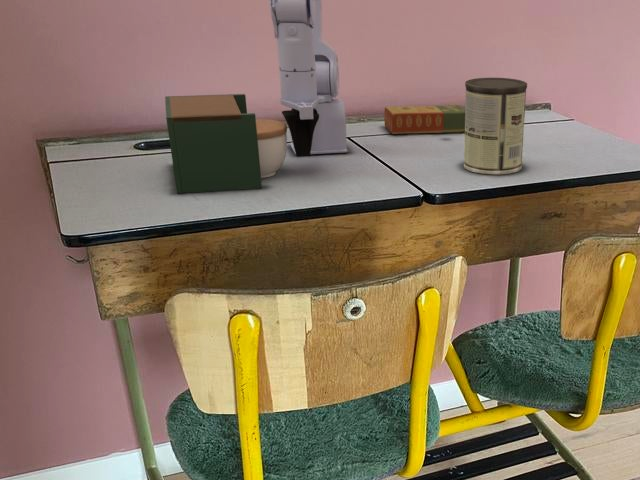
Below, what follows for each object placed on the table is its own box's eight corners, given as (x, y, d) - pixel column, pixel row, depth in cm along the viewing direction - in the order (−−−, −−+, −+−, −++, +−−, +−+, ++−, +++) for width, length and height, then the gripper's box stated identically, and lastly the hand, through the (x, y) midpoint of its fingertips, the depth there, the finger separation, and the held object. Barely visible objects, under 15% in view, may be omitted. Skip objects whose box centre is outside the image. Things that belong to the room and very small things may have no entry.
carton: (384, 126, 169) (383, 105, 167) (458, 124, 173) (459, 103, 171) (392, 135, 162) (392, 113, 160) (469, 132, 166) (470, 110, 164)
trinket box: (270, 185, 130) (265, 124, 125) (211, 178, 133) (204, 118, 128) (301, 168, 139) (297, 111, 134) (245, 162, 141) (239, 106, 137)
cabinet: (251, 161, 142) (244, 93, 137) (262, 188, 128) (255, 114, 123) (174, 165, 139) (164, 96, 133) (177, 193, 125) (166, 117, 119)
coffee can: (472, 157, 148) (475, 75, 141) (528, 163, 145) (533, 79, 138) (454, 171, 139) (457, 84, 133) (513, 177, 137) (518, 89, 130)
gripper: (330, 75, 124) (335, 165, 131) (314, 62, 136) (319, 144, 143) (284, 77, 123) (290, 167, 129) (272, 63, 135) (279, 146, 141)
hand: (303, 155), depth 136 cm, fingers closed, pressing on trinket box
